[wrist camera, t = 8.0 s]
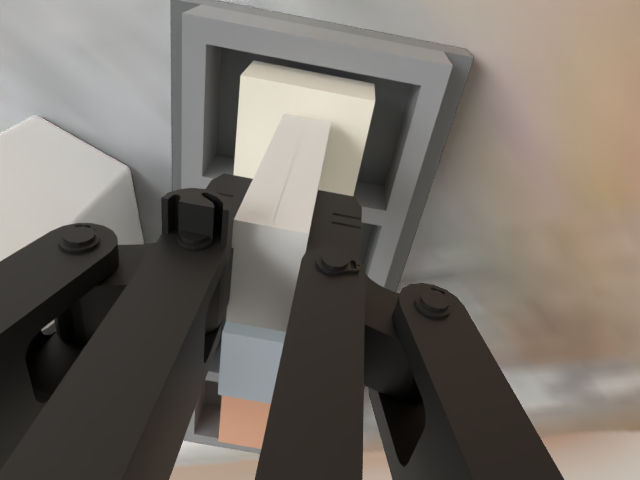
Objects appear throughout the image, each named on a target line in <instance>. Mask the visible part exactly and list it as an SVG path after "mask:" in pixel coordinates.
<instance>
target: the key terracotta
mask: <svg viewBox="0 0 640 480" xmlns="http://www.w3.org/2000/svg"><path fill="white" fill-rule="evenodd" d="M270 406H271V404H269V403H263V402H257V401H252V400H246V399H240V398H235V397H229V396H223V395H222V401H221V413H220V426H219V439H218V442H224V443H229V444H235V445H241V446H247V447H253V448H258V449H261V448H262V443H263V439H264V434H265V429H266V425H267V420H268V415H269V410H270Z"/></svg>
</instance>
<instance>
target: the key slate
mask: <svg viewBox="0 0 640 480" xmlns="http://www.w3.org/2000/svg"><path fill="white" fill-rule="evenodd" d="M285 335H286V332H283V331H278V330H272V329H267V328H261V327H256V326H251V325H245V324H240V323H234V322H229V321H226V323H225V326H224V329H223V331H222V342H221V356H220V370H219V384H218V395H223V396H229V397H235V398H240V399H246V400H252V401H257V402H263V403H269V404H271V401H272V396H273V391H274V387H275V382H276V377H277V373H278V368H279V363H280V358H281V354H282V349H283V344H284V339H285Z"/></svg>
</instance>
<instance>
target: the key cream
mask: <svg viewBox="0 0 640 480" xmlns="http://www.w3.org/2000/svg"><path fill="white" fill-rule="evenodd" d="M374 105H375V86H374V83H368V82H363V81H358V80H353V79H348V78H342V77H337V76H332V75H327V74H322V73H316V72H311V71H306V70H301V69H296V68H290V67H285V66H280V65H275V64H270V63H264V62H259V61H254V60H253V62H252V63H251V64H250V65H249V66H248V67H247V68H246V70H245V71H244V72H243V73H242V74H241V76H240V90H239V104H238V118H237V132H236V146H235V160H234V174H233V175H235V176H241V177H246V178H251V179H253V178H254V176H255V174H256V171H257V169H258V167H259V165H260V163H261V161H262V159H263V157H264V154H265V152H266V150H267V148H268V146H269V144H270V142H271V140H272V138H273V135H274V133H275V131H276V129H277V127H278V125H279V123H280V121H281V118H282V116H283V114H289V115H294V116H299V117H304V118H310V119H315V120H320V121H325V122H330V123H331V125H330V131H329V136H328V142H327V147H326V152H325V158H324V163H323V169H322V174H321V179H320V185H319V190H322V191H327V192H333V193H338V194H343V195H348V196H353V195H354V191H355V187H356V182H357V178H358V174H359V169H360V165H361V161H362V156H363V152H364V148H365V143H366V139H367V135H368V131H369V126H370V122H371V118H372V113H373V109H374Z"/></svg>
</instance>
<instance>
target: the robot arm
mask: <svg viewBox="0 0 640 480" xmlns="http://www.w3.org/2000/svg"><path fill="white" fill-rule="evenodd" d="M330 125H331V123H330V122H325V121H320V120H315V119H310V118H304V117H299V116H294V115H289V114H283V116H282V118H281V121H280V123H279V125H278V127H277V129H276V131H275V133H274V135H273V138H272V140H271V142H270V144H269V146H268V148H267V150H266V152H265V154H264V157H263V159H262V161H261V163H260V165H259V167H258V169H257V171H256V174H255V176H254V178H253V179H251V178H246V177H241V176H235V175H230V174H225V173H224V174H222V175H220V176H218V177H217V178H215V179H213V180H211V181H210V183H209V185H208V186H207V188H206V189H199V188H185V189H178V190H175V191H172V192H169V193H167V194H166V195H165V196H164V197H162V198H161V202H162V235H161V236H160V238H159V239H158V241H157V242H156V243H151V244H137V245H118V238H117V236H116V234H115V233H114V231H113V230H111V229H109V228H107V227H105V226H103V225H98V224H94V223H75V224H70V225H65V226H61V227H59V228H57V229H54V230H52V231H50V232H48V233H47V234H45V235H43V236H42V237H40V238H38V239H37V240H35V241H33V242H32V243H30V244H28V245H27V246H25V247H23V248H22V249H20V250H18V251H17V252H15V253H13V254H12V255H10V256H8V257H7V258H5V259H3V260H2V261H0V480H169V478H170V475H171V473H172V470H173V467H174V464H175V462H176V459H177V456H178V453H179V451H180V448H181V445H182V442H183V440H184V437H185V434H186V431H187V428H188V426H189V423H190V420H191V417H192V415H193V412H194V409H195V406H196V404H197V401H198V398H199V395H200V393H201V390H202V387H203V384H204V382H205V379H206V376H207V373H208V371H209V368H210V365H211V362H212V360H213V357H214V354H215V351H216V349H217V346H218V343H219V340H220V336H221V323H222V319H223V316H224V313H225V311H226V308H227V314H226V321H229V322H234V323H240V324H245V325H251V326H256V327H261V328H267V329H272V330H278V331H283V332H286V335H285V339H284V344H283V349H282V354H281V358H280V363H279V368H278V373H277V377H276V382H275V387H274V391H273V396H272V401H271V406H270V410H269V415H268V420H267V425H266V429H265V434H264V439H263V443H262V448H261V453H260V458H259V462H258V467H257V472H256V477H255V480H362V468H363V466H362V464H363V399H364V385H365V386H368V387H369V396H370V400H371V403H372V407H373V411H374V414H375V418H376V421H377V425H378V429H379V432H380V436H381V439H382V443H383V447H384V450H385V454H386V457H387V461H388V464H389V468H390V472H391V475H392V479H393V480H564V478H563V477H562V475H561V473H560V471H559V470H558V468H557V466H556V465H555V463H554V461H553V459H552V458H551V456H550V454H549V453H548V451H547V449H546V447H545V446H544V444H543V442H542V440H541V439H540V437H539V435H538V433H537V432H536V430H535V428H534V426H533V425H532V423H531V421H530V419H529V418H528V416H527V414H526V413H525V411H524V409H523V407H522V406H521V404H520V402H519V400H518V399H517V397H516V395H515V393H514V392H513V390H512V388H511V387H510V385H509V383H508V381H507V380H506V378H505V376H504V374H503V373H502V371H501V369H500V368H499V366H498V364H497V362H496V361H495V359H494V357H493V355H492V354H491V352H490V350H489V348H488V347H487V345H486V343H485V342H484V340H483V338H482V336H481V335H480V333H479V331H478V329H477V328H476V326H475V324H474V322H473V321H472V319H471V317H470V316H469V314H468V312H467V310H466V309H465V307H464V305H463V304H462V303H461V302H460V301H459V299H458V298H457V297H455V296H454V295H453V294H451V293H450V292H448V291H447V290H445V289H442V288H440V287H437V286H435V285H430V284H424V283H418V284H410V285H408V286H407V287H405V288H403V289H402V291H401V293H400V294H398V293H396V292H393V291H391V290H389V289H386V288H384V287H382V286H380V285H378V284H377V283H375V282H374V281H373V280H371V279H370V278H369V277H368V276H367V275H366V274H365V268H364V265H363V263H362V262H361V223H362V220H361V219H362V207H361V205H360V204H359V203H358V201H357V200H356V198H355V197H354V196H348V195H343V194H338V193H333V192H327V191H322V190H319V185H320V179H321V174H322V169H323V163H324V158H325V152H326V147H327V142H328V136H329V131H330ZM53 320H54V321H55V322H54V323H53V324H52V325H51V326H49V327H48V328H46V329H44V330H42V329H43V328H44V327H45V326H47V325H48V324H49V323H50V322H52V321H53ZM41 330H42V331H41Z"/></svg>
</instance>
